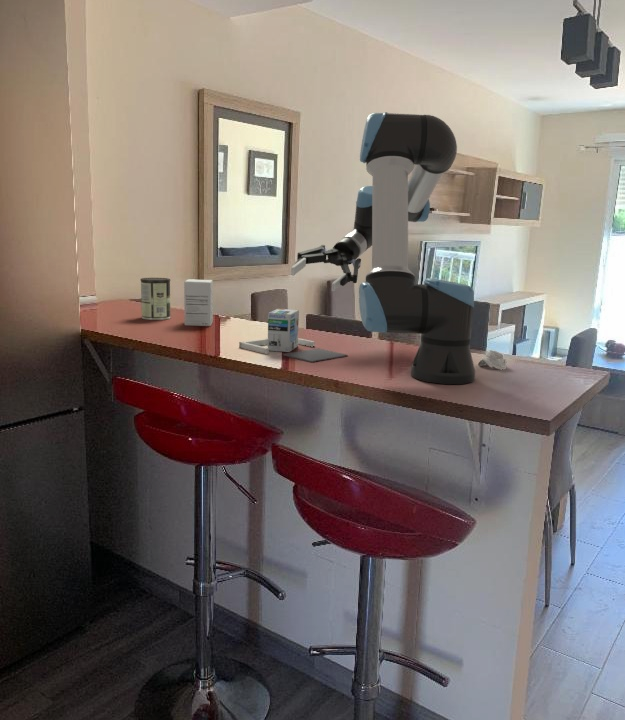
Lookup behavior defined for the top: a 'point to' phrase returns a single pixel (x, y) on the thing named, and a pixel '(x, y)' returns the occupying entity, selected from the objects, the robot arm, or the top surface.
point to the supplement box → (198, 302)
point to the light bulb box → (283, 330)
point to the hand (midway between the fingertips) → (312, 279)
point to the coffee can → (155, 298)
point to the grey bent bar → (255, 343)
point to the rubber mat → (314, 355)
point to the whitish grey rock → (494, 360)
